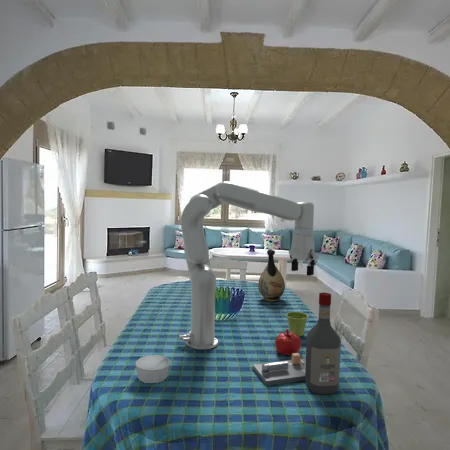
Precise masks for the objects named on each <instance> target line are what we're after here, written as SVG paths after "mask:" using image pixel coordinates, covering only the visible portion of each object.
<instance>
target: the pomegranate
mask: <svg viewBox="0 0 450 450" xmlns="http://www.w3.org/2000/svg"><path fill="white" fill-rule="evenodd" d="M292 333H293V332H291V333H289V328H285V332H283V331H279V334H278V335H277V336H276V338H275V341H274V345H275V349H276V351H277V353H278V354H280V355H284V356H292V353H299V352H300V351H301V348H302V340H301V338H300V337H298V336H297V335H296V334H292Z"/></svg>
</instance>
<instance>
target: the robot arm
mask: <svg viewBox="0 0 450 450" xmlns="http://www.w3.org/2000/svg"><path fill="white" fill-rule="evenodd" d="M223 204H227V205H231V206H234V207H237V208H239V209H244V210H248V211H251V212H255V213H260V214H266V215H270V216H273V217H277V218H279V219H281V220H285V221H289V222H293V221H294V230H293V231H294V233H293V235H292V239H291V244H290V245H291V246H290V249H289V250H288V254H289V258H290V261H291V271H292V272H298V271H299V261H305V262H306V264H307V266H306V276H314V274H315V266H316V263H317V262H318V260H319V255H318V254H317V253H316V252H315V239H314V217H315V216H314V213H315V212H314V211H315V206H314V205H315V204H314V203H312V202H308V201H305V202H304V201H299V202H296V201H293V200H289V199H287V198H286V199H285V198H283V197H280V196H276V195H272V194H269V193H267V192H264V191H262V190H261V191H260V190H257V189H254V188H249V187H247V186H244V185H241V184H237V183H234V182H230V181H221V182H219V183H217V184H215V185H213V186H211V187H209V188H207V189H205V190H203V191H201V192H199V193H196V194H194V195H193V196H192V197H190V200H189V202H188V203H187V204H186V205H185V206H184V208H183V210H182V212H181V213H182V214H181V217H180V226H181V234H182V239H183V242H184V247H183V252H184V257H185V261H186V265H187V269H188V273H189V277H190V281H191V289H190V291H191V293H190V294H191V295H190V330H189V332H188V333H186V334H179V335H178V340H179V341H183V343H184V342H186V345H187V346H188V347H189V348H191V349H193V350H194V349H195V350H198V351H199V350H201V351H203V350H205V351H206V350H211V349H214V348H216V347H218V345H219V339H217V338H216V337H215V329H216V328H215V326H216V325H215V324H216V323H215V320H216V318H215V313H216V312H215V311H216V306H215V305H216V288H217V277H216V274H215V271H214V270H213V269H212V266H211V262H210V258H209V254H210V251H209V250H210V249H209V246H208V244H207V243H208V242H207V240H206V234H205V230H204V219H205V216H207V215H209V213H210V212H211V210H214V209H215V208H217V207H220V206H222V205H223ZM298 260H299V261H298Z"/></svg>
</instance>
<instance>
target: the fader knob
mask: <svg viewBox="0 0 450 450" xmlns="http://www.w3.org/2000/svg"><path fill="white" fill-rule="evenodd" d="M301 359H302V355H301V354H300V353H299V352H298V353H292V355H291V360H292V363H293V364H300V362H301Z"/></svg>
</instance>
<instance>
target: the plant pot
mask: <svg viewBox="0 0 450 450" xmlns="http://www.w3.org/2000/svg"><path fill="white" fill-rule="evenodd" d="M285 317H286V318H287V323H288V329H289V333H291V332H293V333H292V334H296V335H297V336H298V337H299V338H300V337H303V336H304V335H305V331H306V330H305V328H306V325H307V321H308V318H309V315H308V314H307V313H304V312H301V311H290V312H287V313H286V314H285Z"/></svg>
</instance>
